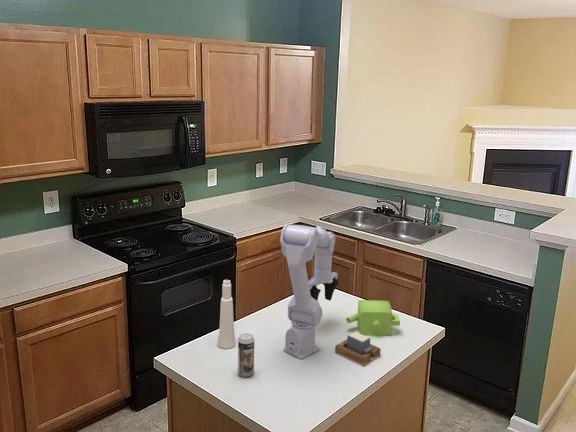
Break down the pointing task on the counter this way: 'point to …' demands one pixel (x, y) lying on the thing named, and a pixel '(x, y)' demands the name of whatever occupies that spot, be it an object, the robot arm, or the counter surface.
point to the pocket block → (357, 354)
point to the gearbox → (374, 317)
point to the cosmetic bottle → (226, 318)
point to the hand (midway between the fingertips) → (320, 302)
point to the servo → (358, 343)
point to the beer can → (246, 355)
